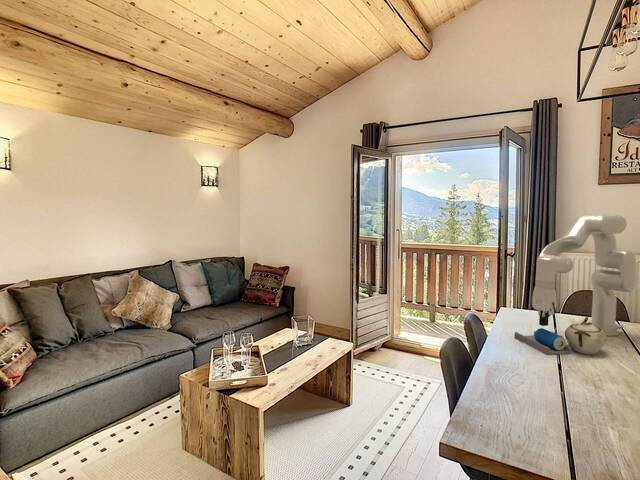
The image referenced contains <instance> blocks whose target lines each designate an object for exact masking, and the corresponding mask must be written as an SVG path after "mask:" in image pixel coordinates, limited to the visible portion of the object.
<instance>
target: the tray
mask: <svg viewBox="0 0 640 480" xmlns="http://www.w3.org/2000/svg"><path fill="white" fill-rule="evenodd" d="M536 331H537V330H536ZM536 331H535V330H534V331H533V334H532V335H523V334H521V333H520V332H518V331H514V339H515V340H516V339H517V340H518V341H520V342H522V343H523V344H526V345H527V346H529V347H532V348H533V349H534V350H537V351H539V352H541V353H543V354H544V355H546V356H555V355H557V356H558V355H572V351H573V348H572V346H570V345H568V344H566V345H565V347H564V348H563V349H562V350H555V349H552V348H550V347H548V346H546V345H544V344H542V343H540V342H538V341H536V339H535V336H534V335H535V332H536Z"/></svg>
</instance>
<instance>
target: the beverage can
mask: <svg viewBox="0 0 640 480" xmlns="http://www.w3.org/2000/svg"><path fill="white" fill-rule="evenodd" d="M533 335H534V334H533ZM534 336H535V339H536V341H538V342H540V343H542V344H544V345H546V346H548V347H550V348H552V349H555V350H562V349H563V348H564V347H565V345H567V340H566V338H564V337H563V336H561V335H560V334H557V333H556V332H553V331H550V330H548V329H546V328H544V327H541V328H540V327H539V328H538V329H536V332H535V335H534Z"/></svg>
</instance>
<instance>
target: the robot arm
mask: <svg viewBox="0 0 640 480" xmlns="http://www.w3.org/2000/svg"><path fill="white" fill-rule="evenodd" d="M626 229H627V220H626V218H625V217H624V216H622V215H620V214H617V215H613V214H612V215H611V214H610V215H608V214H606V215H605V214H602V215H601V214H593V215H591V214H584V215H579V216H577V217H576V218H575V219H574V220H573V222H572V224H571V225H570V227H569V228H568V229H567V231H566V232H565V234H564V235H563V236H562V237H560V238H557V239H556V240H554V241H552V242H551V243H548V244H547V245H546V246H545V247H544V248H543V249H542V250H541V252H540V253H539V255H538V257H537V258H536V259H537V260H536V267H535V268H536V271H535V286H534V288H533V291H532V298H531V306H532V308H534V309H535V310H536V311H537V312H538V314H537V315H538V318H539V319H538V320H539V321H538V324H539V326H542V327H545V326H546V327H547V326H549V318H550V316H554V315H555V312H556V310H557V306H558V305H557V303H558V302H557V301H558V300H557V291H556V284H557V283H556V280H557V279H556V278H557V274H567V273H570V272H571V271H572V269H573V268H574V262H573V260H572V259H571V258H569V257H567V256H563V255H560V254H562V253H566V252H570V251H575V250H578V249H581V248H582V247H583V246H585V245H584V244H585V243H586V241H587V240H588V238H589V237H590V235H591V236H592V238H593V242H594V263H595V264H596V265H597V266H598V267H601V268H603V269H601V268H600V269H596V270H594V271H593V272H592V274H591V276H590V277H591V278H590V280H591V286H592V287H591V288H592V304H591V322H590V323H592V325H593V326H596V327H598V328H600V329H601V330H602V331H603V332H604V333H605V334H606V336H607V337H609V336H610V337H617V336H618V335H619V331H618V330H620V329H624V325H623V324H616V314H617V301H618V300H617V296H616V294H615V292H614V291H616V292H622V293H630V292H633V291H635V288H636V285H637V258H636V255H635V254H634V252H633V251H631V250H628V249H621V248H620V249H619V248H617V239H616V236H615V235H616V234H622V233H623V232H624V231H625V230H626ZM604 268H606V269H604ZM607 268H608V269H607ZM610 269H613V270H610ZM614 269H615V270H614Z"/></svg>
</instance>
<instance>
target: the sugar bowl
mask: <svg viewBox="0 0 640 480" xmlns="http://www.w3.org/2000/svg"><path fill="white" fill-rule="evenodd" d="M588 320H589V317H588V316H586V317H585V318H584V319H583V321H582V322H578V323H572V324H570V325H569V326H568V327H566V329H565V331H564V337H565V340H566V342H567V343H568V344H569V346H570V347H572V350H574V351H576V352H578V353H581V354H584V355H585V354H586V355H595V354H597V353H598V352H599V351H600V350H601V349H603V347H605V345H606V344H607V342H608V336H606V334H605V333H604V332H603V331H602V330H601V329H600V328H598V327H596V326H593V325H592V323H591V322H590V321H589V322H588Z"/></svg>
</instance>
